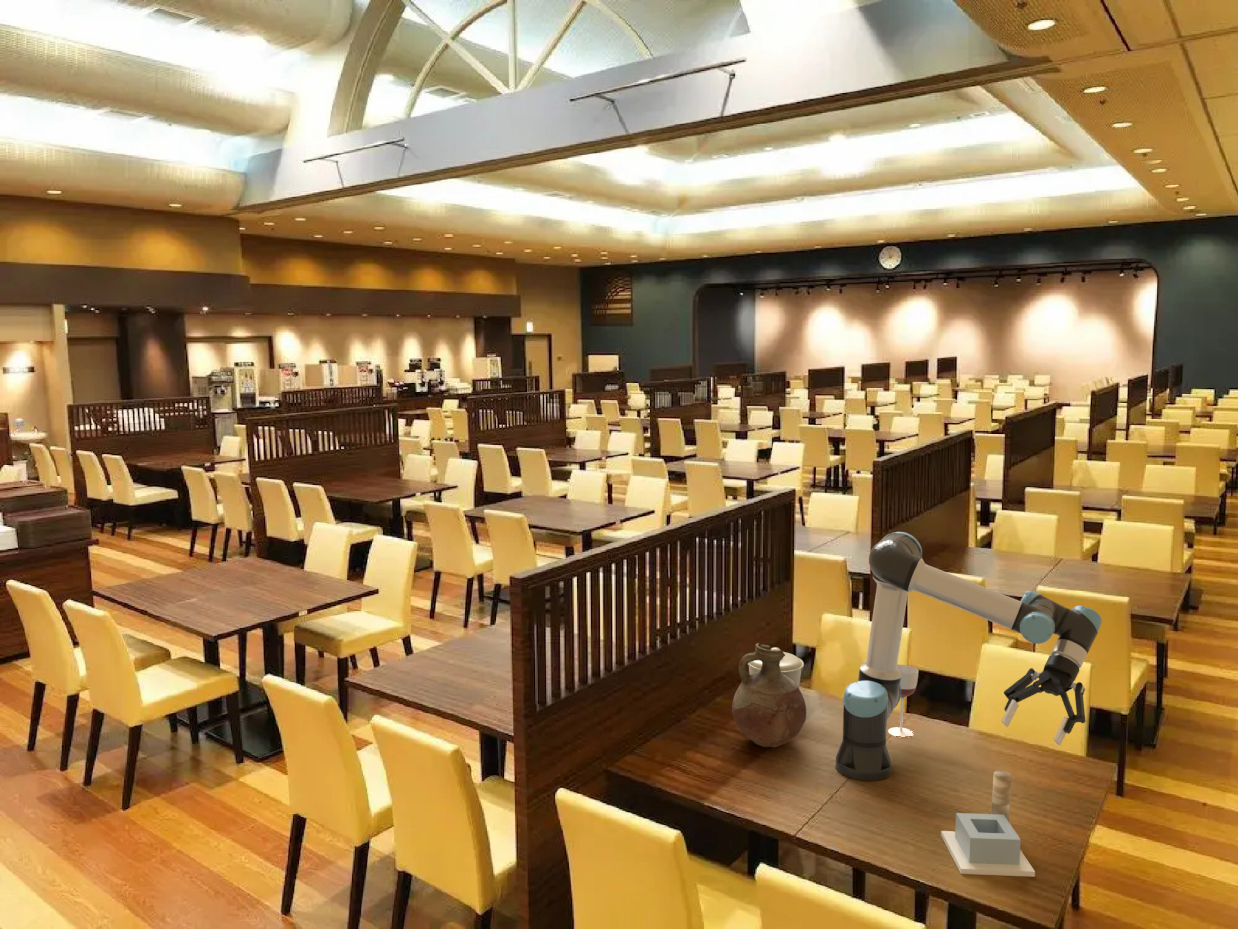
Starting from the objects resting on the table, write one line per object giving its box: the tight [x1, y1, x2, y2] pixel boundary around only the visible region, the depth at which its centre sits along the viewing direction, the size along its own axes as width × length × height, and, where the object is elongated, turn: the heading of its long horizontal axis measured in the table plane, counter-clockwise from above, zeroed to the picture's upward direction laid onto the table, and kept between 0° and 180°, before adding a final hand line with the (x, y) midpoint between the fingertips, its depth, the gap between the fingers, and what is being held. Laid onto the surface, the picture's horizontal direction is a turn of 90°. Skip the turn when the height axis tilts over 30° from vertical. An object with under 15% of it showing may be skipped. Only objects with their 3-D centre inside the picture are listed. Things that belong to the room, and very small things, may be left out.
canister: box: [747, 646, 805, 687], centre depth 291 cm, size 18×18×21 cm
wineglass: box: [887, 664, 919, 738], centre depth 275 cm, size 8×9×20 cm
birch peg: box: [990, 770, 1012, 823], centre depth 220 cm, size 4×4×14 cm
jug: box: [731, 642, 807, 748], centre depth 267 cm, size 22×22×30 cm
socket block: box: [940, 812, 1036, 877], centre depth 209 cm, size 16×16×7 cm
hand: (1030, 733), depth 224 cm, fingers open, 13 cm apart
